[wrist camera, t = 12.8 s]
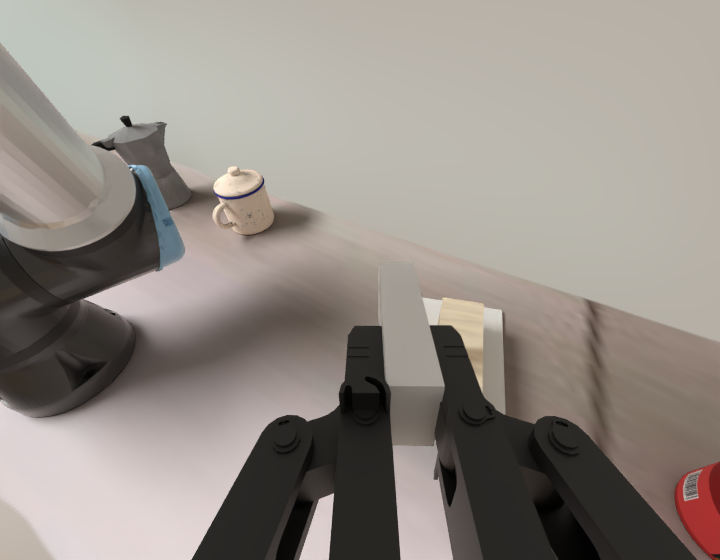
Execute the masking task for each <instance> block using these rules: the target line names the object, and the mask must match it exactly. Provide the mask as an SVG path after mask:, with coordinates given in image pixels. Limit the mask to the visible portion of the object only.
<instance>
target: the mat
mask: <svg viewBox="0 0 720 560" xmlns="http://www.w3.org/2000/svg"><path fill="white" fill-rule="evenodd" d="M422 298H423V297H422ZM423 302H424V306H425V310H426V314H427V318H428V322H429V325H438V319H439V314H440V310H441V305H442V301H441V300H435V299H429V298H423ZM482 393H483V395H484V397H485V399H487V400H488V401H489V402H490V403H491V404H492V405H494V407H495V409H496V410H497V411H499V412H501V413H502V414H504V415H506V410H505V382H504V355H503V327H502V310H497V309H491V308H485V307H484V316H483V387H482Z"/></svg>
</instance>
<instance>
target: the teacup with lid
mask: <svg viewBox="0 0 720 560" xmlns="http://www.w3.org/2000/svg"><path fill="white" fill-rule="evenodd" d="M214 193H215V195H216V196H218V198H219V201H220V204H219V205H218V206H217V207H216V208H215V209H214V211H213V219H214V221H215V223H216V224H217V225H218V226H219V227H221V228H224V229H230V228H232V229H233V230H234V231H235V232H237V233H239V234H243V235H251V234H256V233H259V232H262V231H264V230H265V229H267V228H268V227H269V226H270V225H271V224H272V223H273V221H274V213H273V210H272V207H271V204H270V201H269V198H268V195H267V192H266V189H265V186H264V178H263V177H262V175H260V173H258V172H256V171H253V170H239V168H238V167H236V166H233V167H230V168H229V169H228V173H227V174H225V175H223V176H222V177H220V178H219V179H218V180H217V181H216V182H215V184H214ZM223 209H224V212H225V214H226V216H227V218H228V220H229V223H228V224H225V225H224V224H223V223H222V222H221V221H220V218H219V215H220V212H221V211H222V210H223Z"/></svg>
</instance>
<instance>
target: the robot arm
mask: <svg viewBox="0 0 720 560" xmlns="http://www.w3.org/2000/svg"><path fill="white" fill-rule="evenodd" d="M184 253H185V246H184V244H183V241H182V239H181V237H180V234H179V232H178V230H177V228H176V225H175V223H174V221H173V219H172V216H171V214H170V212H169V210H168V207H167V205H166V203H165V201H164V198H163V196H162V194H161V192H160V190H159V187H158V185H157V183H156V181H155V179H154V177H153V174H152V172H151V170H150V169H149V168H148V167H147V166H144V165H137V166H136V165H129V166H127V165H126V164H125V163H124V162H123V161H122V160H121V159H120V158H118V157H117V156H116V155H114V154H113V153H111V152H109V151H107V150H105V149H102V148H100V147H96V146H93V145H88V144H86V143H85V141H84V140H83V139H82V138H81V137H80V136H79V134H78V133H77V132H76V131H75V130H74V129H73V128H72V126H71V125H70V124H69V123H68V121H67V120H66V119H65V118H64V117H63V116H62V115H61V113H60V112H59V111H58V110H57V109H56V108H55V106H54V105H53V104H52V103H51V102H50V100H49V99H48V98H47V97H46V96H45V95H44V94H43V92H42V91H41V90H40V89H39V88H38V87H37V85H36V84H35V83H34V82H33V81H32V79H31V78H30V77H29V76H28V75H27V74H26V72H25V71H24V70H23V69H22V68H21V66H20V65H19V64H18V63H17V62H16V61H15V59H14V58H13V57H12V56H11V55H10V54H9V52H8V51H7V50H6V49H5V48H4V47H3V46H2V44H1V43H0V401H1V402H2V404H4V405H5V406H6V407H8V408H10V409H12V410H14V411H17V412H19V413H21V414H24V415H26V416H31V417H46V416H52V415H56V414H59V413H62V412H65V411H68V410H70V409H72V408H75V407H77V406H79V405H81V404H82V403H84V402H86V401H87V400H89V399H91V398H92V397H94V396H95V395H96V394H98V393H99V392H100V391H102V390H103V389H104V388H105V387H106V386H108V385H109V384H110V383H111V382H112V381H113V380H114V379H115V378H116V377H117V375H118V374H119V373H120V372H121V371H122V369H123V368H124V367H125V365H126V364H127V362H128V360H129V359H130V357H131V355H132V352H133V349H134V346H135V332H134V329H133V328H132V326H131V325H130V324H129V323H128V322H127V321H126V320H125V319H124V318H123V317H122V316H121V315H119V314H118V313H116V312H114V311H111V310H108V309H104V308H102V307H100V306H98V305H96V304H94V303H91V302H89V301H86V300H84V298H86V297H89V296H92V295H94V294H97V293H99V292H102V291H104V290H107V289H109V288H112V287H115V286H117V285H120V284H122V283H125V282H127V281H130V280H132V279H135V278H138V277H140V276H143V275H145V274H148V273H151V272H153V271H160V270H162V269H163V267H165V266H168V265H170V264H172V263H174V262H177V261H179V260H180V259H181V258H182V257H183V256H184ZM378 321H379V326H354V328H353V329H352V331H351V332H350V334H349V335H348V345H347V359H346V372H345V381H344V382H343V384H342V385H341V388H340V391H339V401H340V405H339V406H338V407H337V408H336V409H335V410H334V411H333V412H331V413H330V414H328V415H326V416H323V417H321V418H318V419H314V420H311V421H308V422H307V421H306V420H305V419H303V418H301V417H299V416H297V415H286V416H283V417H279V418H277V419H276V420H274V421H273V422H271V423H270V424H268V426H267V427H266V428H265V430H264V431H263V432H262V434H261V435H260V437H259V439H258V441H257V443H256V445H255V446H254V448H253V450H252V452H251V454H250V455H249V457H248V459H247V461H246V463H245V464H244V466H243V468H242V470H241V472H240V473H239V475H238V477H237V479H236V481H235V482H234V484H233V486H232V488H231V490H230V491H229V493H228V495H227V497H226V499H225V500H224V502H223V504H222V506H221V508H220V509H219V511H218V513H217V515H216V517H215V518H214V520H213V522H212V524H211V526H210V527H209V529H208V531H207V533H206V535H205V536H204V538H203V540H202V542H201V544H200V546H199V547H198V549H197V551H196V553H195V555H194V556H193V558H192V560H299V558H300V555H301V552H302V549H303V546H304V543H305V540H306V537H307V534H308V531H309V528H310V525H311V522H312V519H313V516H314V512H315V509H316V506H317V503H318V500H319V499H320V498H322V497H325V496H328V495H330V494H333V493H334V502H333V515H332V528H331V541H330V554H329V560H400V546H399V532H398V518H397V504H396V490H395V476H394V462H393V448H392V445H409V446H434V440H435V438H436V443H437V449H438V455H437V460H436V465H435V469H434V480H438V476H439V481H440V487H441V493H442V498H443V504H444V509H445V515H446V521H447V526H448V532H449V538H450V543H451V549H452V554H453V560H697V559H696V558H695V557H694V556H693V555H692V553H691V552H690V551H689V550H688V549H687V548H686V547H685V545H684V544H683V543H682V542H681V541H680V540H679V539H678V537H677V536H676V535H675V534H674V533H673V532H672V531H671V530H670V528H669V527H668V526H667V525H666V524H665V523H664V522H663V520H662V519H661V518H660V517H659V516H658V515H657V514H656V512H655V511H654V510H653V509H652V508H651V507H650V506H649V504H648V503H647V502H646V501H645V500H644V499H643V498H642V497H641V495H640V494H639V493H638V492H637V491H636V490H635V489H634V487H633V486H632V485H631V484H630V483H629V482H628V481H627V479H626V478H625V477H624V476H623V475H622V474H621V473H620V471H619V470H618V469H617V468H616V467H615V466H614V465H613V464H612V462H611V461H610V460H609V459H608V458H607V457H606V456H605V454H604V453H603V452H602V451H601V450H600V449H599V448H598V446H597V445H596V444H595V443H594V442H593V441H592V440H591V438H590V437H589V436H588V435H587V434H586V433H585V432H584V431H583V430H581V429H580V428H579V427H578V426H577V425H575V424H573V423H572V422H570V421H568V420H566V419H563V418H559V417H556V416H545V417H543V418H541V419H539V420H537V422H536V424H532V423H529V422H525V421H522V420H518V419H515V418H512V417H509V416H506V415H504V414H502V413H501V412H499V411H497V410H496V409H495V407H494V405H492V404H491V403H490V402H489V401H488V400H487V399H485V397H484V395H483V393H482V391H481V388H480V386H479V383H478V380H477V377H476V375H475V372H474V369H473V367H472V364H471V361H470V358H468V353H467V350H466V348H465V345H464V342H463V339H462V337H461V335H460V334H459V333H458V331H457V330H456V329H455V328H454V327H453V326H452V325H429V322H428V318H427V314H426V310H425V306H424V302H423V298H422V294H421V290H420V286H419V283H418V279H417V275H416V271H415V267H414V263H379V290H378Z"/></svg>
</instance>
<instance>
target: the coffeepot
mask: <svg viewBox="0 0 720 560" xmlns="http://www.w3.org/2000/svg"><path fill="white" fill-rule="evenodd" d="M120 119H121V121H122V122H123V123H124V125H125V126H126V127H124V128H122V129H120V130H118V131H116V132H114V133H112V134H110V135H109V136H108V138H106V139H103V140H101V141H98V142H95V143H93V144H92V145H93V146H96V147H100V148H102V149H105V150H107V151H111V150H116V151H117V152H118V153H119V155H120V156H121V157H122V158H123V159H124V161H125V162H126V163H127V164H128V165H136V166H137V165H144V166H147V167H148V168H149V169H150V170H151V172H152V174H153V177H154V179H155V181H156V183H157V185H158V187H159V190H160V192H161V194H162V196H163V198H164V201H165V203H166V205H167V207H168V210H170V209H174V208H177V207H179V206H181V205H183V204H185V203H186V202H187V201H188V200H189V199H190V198H191V196H192V195H191V192H190V189H189V188H188V186H187V185H186V184H185V182H184V181H183V180H182V178H181V177H180V176H179V174H178V173H177V172H176V170H175V169H174V168H173V167H172V166H171V164H170V160H169V157H168V155H167V152H166V149H165V146H164V133H165V126H166V125H167V124H166V123H163V122H159V123H158V122H155V123H149V124H142V123H141V124H135V125H132V124H131V121H130V118H129V116H122V117H121V118H120Z"/></svg>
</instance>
